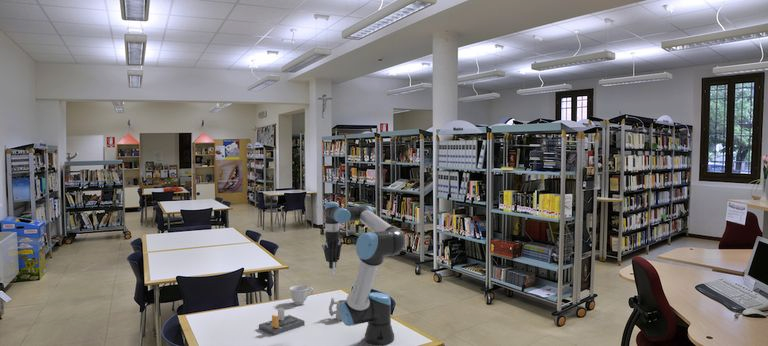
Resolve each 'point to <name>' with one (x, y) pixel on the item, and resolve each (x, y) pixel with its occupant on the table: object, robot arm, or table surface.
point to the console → (282, 325)
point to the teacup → (299, 293)
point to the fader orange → (275, 321)
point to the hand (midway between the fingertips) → (332, 273)
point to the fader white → (281, 313)
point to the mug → (336, 308)
